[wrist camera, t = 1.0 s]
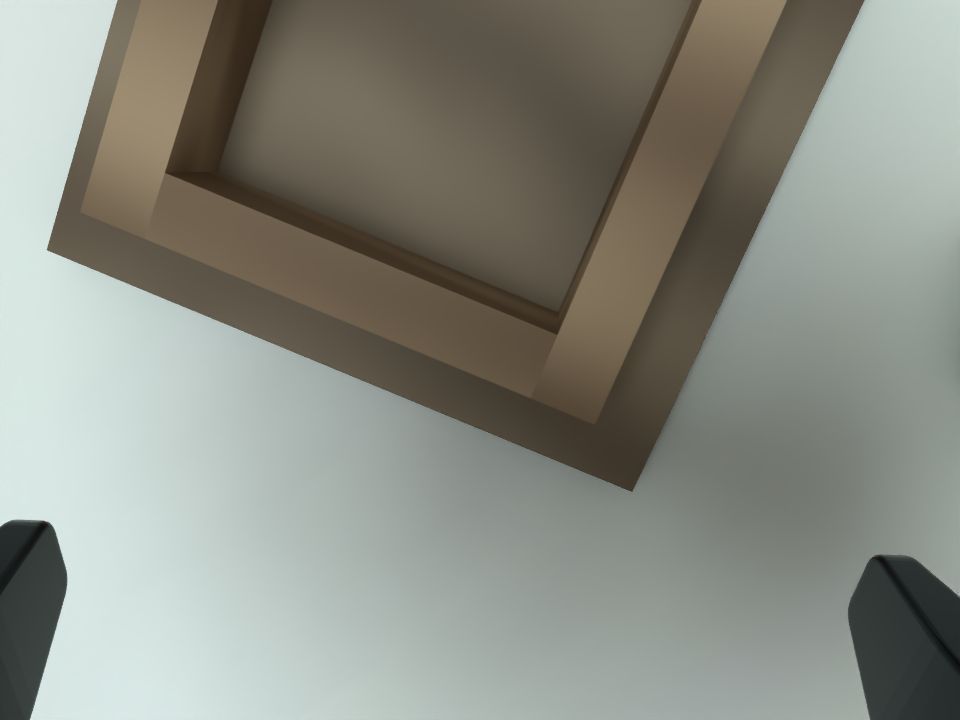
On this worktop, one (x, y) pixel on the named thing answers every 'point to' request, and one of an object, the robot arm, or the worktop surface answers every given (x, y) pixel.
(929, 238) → the worktop surface
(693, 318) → the socket
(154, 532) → the worktop surface
